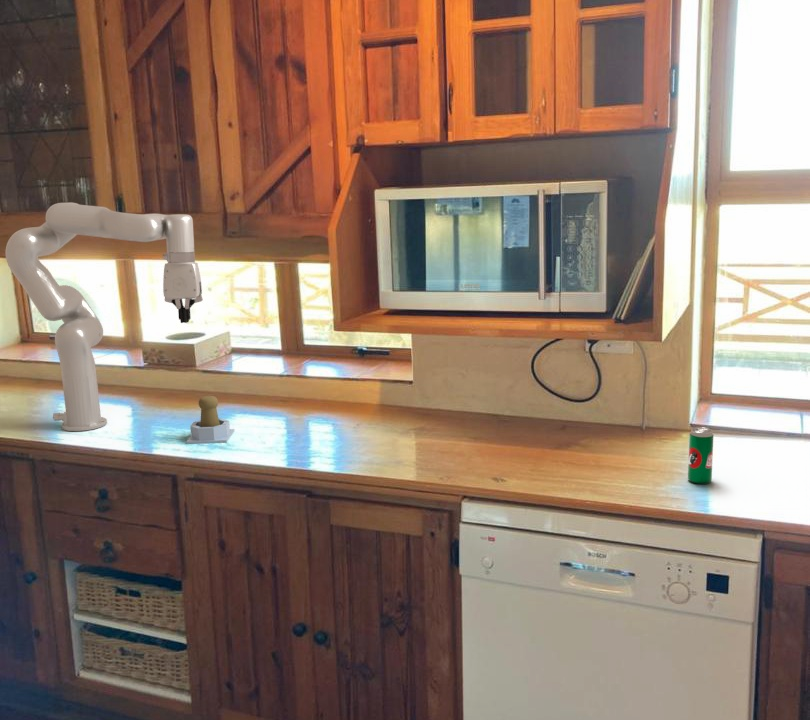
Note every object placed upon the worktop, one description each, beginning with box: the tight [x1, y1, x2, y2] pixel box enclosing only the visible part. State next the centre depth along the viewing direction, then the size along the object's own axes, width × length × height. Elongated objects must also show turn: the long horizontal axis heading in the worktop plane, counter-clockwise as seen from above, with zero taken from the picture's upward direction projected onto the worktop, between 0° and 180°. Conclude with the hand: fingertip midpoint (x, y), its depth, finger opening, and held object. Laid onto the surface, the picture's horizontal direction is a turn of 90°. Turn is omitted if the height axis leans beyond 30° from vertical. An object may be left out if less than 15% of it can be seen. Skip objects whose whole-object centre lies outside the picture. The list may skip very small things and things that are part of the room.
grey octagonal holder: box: [185, 417, 235, 445], centre depth 238 cm, size 11×11×4 cm
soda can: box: [687, 426, 714, 485], centre depth 191 cm, size 5×5×12 cm
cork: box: [198, 395, 220, 427], centre depth 237 cm, size 6×6×11 cm
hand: (184, 322), depth 247 cm, fingers closed
